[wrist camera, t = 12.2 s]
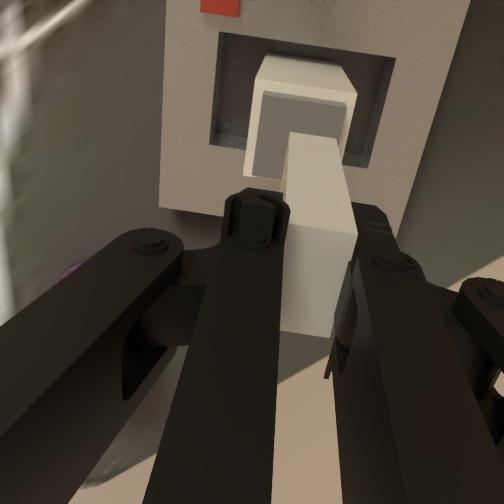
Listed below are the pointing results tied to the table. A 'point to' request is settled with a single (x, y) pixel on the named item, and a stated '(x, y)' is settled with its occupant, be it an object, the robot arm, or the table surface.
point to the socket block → (313, 47)
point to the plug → (295, 109)
